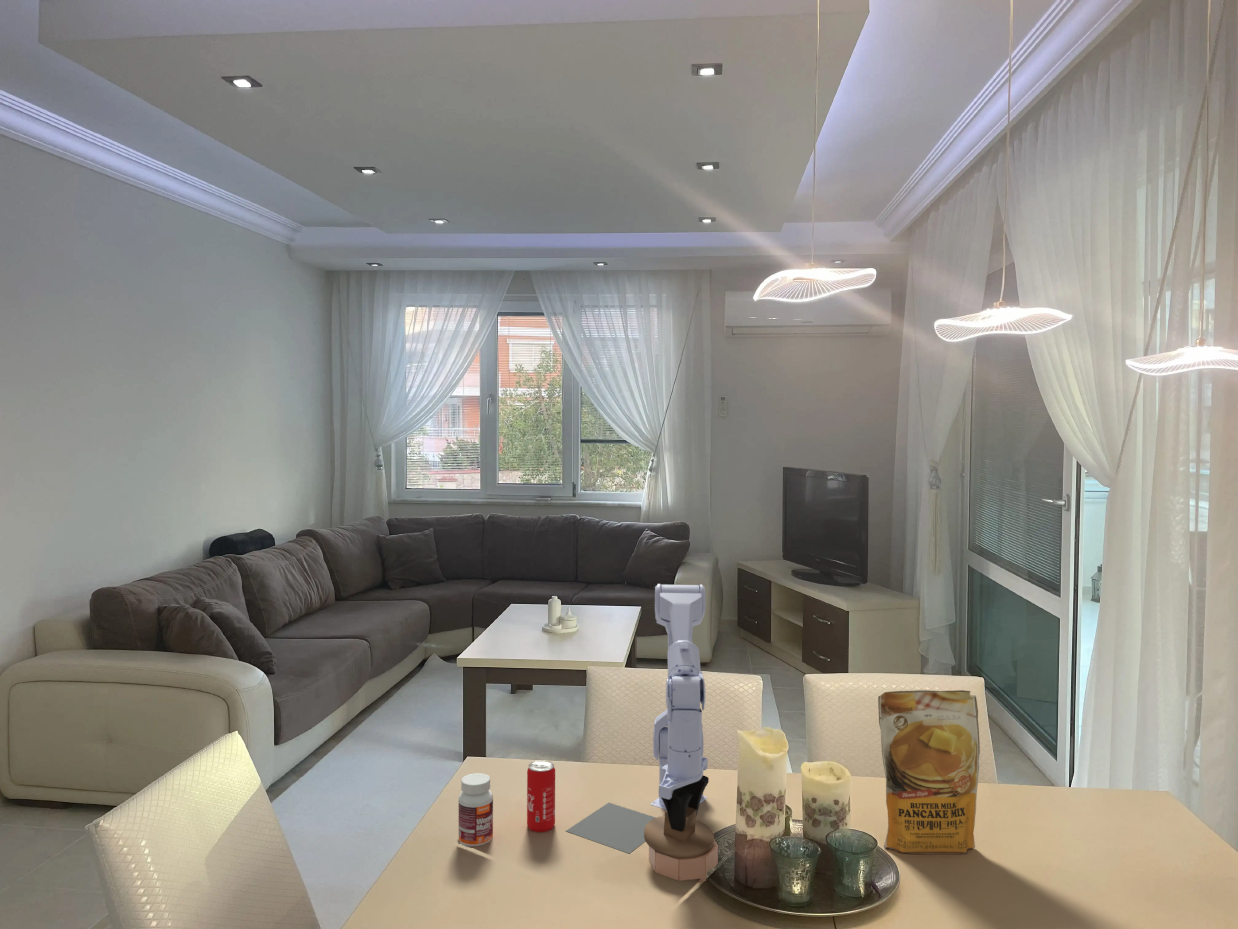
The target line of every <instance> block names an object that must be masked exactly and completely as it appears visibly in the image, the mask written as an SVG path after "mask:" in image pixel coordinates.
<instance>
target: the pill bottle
mask: <svg viewBox="0 0 1238 929" xmlns="http://www.w3.org/2000/svg"><path fill="white" fill-rule="evenodd" d="M460 783H461V785H460V787H461V788H460V789H461V792H460V794H459V795H458V841H459V843H460V845H462V846H464V847H466V848H471V849H472V848H474V847H475V846H482V845H486V844H488V843H489V842H490V841H491V840H493V838H494V837H493V836H494V794H493V793H492V791H491V790H490V789H491V777H490V776H489V775H488V774H486V773H481V772H477V773H476V772H474V773H470V774H466V775H465V776H463V777H462V778H461V782H460Z"/></svg>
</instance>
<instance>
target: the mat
mask: <svg viewBox="0 0 1238 929" xmlns="http://www.w3.org/2000/svg"><path fill="white" fill-rule="evenodd" d="M654 818H657V817H656V816H654V815H653V816H652V815H649V814H646V813H644V812H640V811H637V810H633V809H630V808H627V807H625V806H621V805H618V804H615V803H611V802H607V803H605V804H604V805H602V806H601V807H600V808H598V809H596V810H595V811H594V812H592V813H591V814H589V815H587V816H586V817H584V818H583V819H582V820H580V821H579V822H577V823H575V824H574V825H572V826H571V827H570V828H568V829H566V830H565V832H566V833H570V834H572V835H575V836H578V837H581V838H583V839H587V840H589V841H592V842H595V843H598V844H601V845H604V846H605V847H608V848H611V849H613V850H617V851H620V852H623V853H625V854H629V855H630V854H631V853H633V852H634V851H635V850H636V849H638V848H639V847H640V846H642V845H643V844H644V843H646V841H645V839H644V829H645V826H646V824H647V823H648V822H649V821H650V820H652V819H654Z"/></svg>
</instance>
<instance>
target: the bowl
mask: <svg viewBox="0 0 1238 929" xmlns="http://www.w3.org/2000/svg"><path fill="white" fill-rule="evenodd" d="M718 855H719V845H718V844H717V842H716V840H715V839H714V845H713V848H712V849H711V851H709V852H708V853H707V854H705V855H702V856H699V857H695V858H676V857H671V856H667V855H664V854H661V853H659V852H657V851H655V850H654V849H652V848H651V847H650V846H649V845H648V860H649V863H650V864H651V866H652V869H653V872H654V873H656V874H659V875H661V876H664V877H667V878H671V879H673V880H676V881H678V882H680V881H681V882H682V881H689V880H698V881H697V883H700V882H706V881H707V880H706V874H707V872H708V871H709V870H710V869H712V868H714V867H715V866H716V865H717V864H718V863H719V858H718V857H719V856H718Z"/></svg>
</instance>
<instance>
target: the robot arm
mask: <svg viewBox="0 0 1238 929" xmlns="http://www.w3.org/2000/svg"><path fill="white" fill-rule="evenodd" d="M706 595H707V594H706V587H705V586H704V585H703V584H702V583H701V584H699V585H698V584H661V583H657V585H655V587H654V615H655V620H656V624H658V625H661V626H663V627H664V628H665V631H666V633H667V656H666V657H667V678H666V682H665V705H666V709H665V710H664V711H663V712H661V713H660V714H659V715H658V716H656V717H655V718H654V719H655V720H654V721H653V734H652V737H653V738H652V743H653V745H652V748H653V749H652V753H653V754H652V755H653V757H654V758H655V760H656V761H657V760H658V761H659V762H658V763H659V764H658V765H659V769H658V770H659V772H658V773H659V774H658V775H659V778H658V779H659V780H658V781H659V782H658V798H656V799H655V800H654V801H652V802H651V803H650V805H651V806H653V807H656V808H660V809H663V810H665V811H666V810H667V813H668V817H669V822H670V826H671V829H673V830H677V831H680V832H682V831H683V830H684V826H685V821H686V812H687V808H688V807H690V808H693V809H696V810H697V811H696V817H697V814H698V811H699V807H700V804H702V803H703V801H705V800H707V799H708V797H707V796H706V795H704V792H705V789H706V787H707V786H708V784H709V782H710V781H709V777H708V776H706V775H704V771H706V770H707V769H708V768H709V767H708V763H709V762H708V761H709V760H708V757H705V756H704V731H703V711H704V710H705V706H706V683H705V679H704V675H703V671H701V669H702V668H701V659H700V649H699V647H698V646H697V645H696V644H695V643H693V630H694V627H695V626H699V625H701V624H702V621H703V620H704V616H705V613H706V606H707V605H706V604H707V601H706ZM700 705H701V706H700ZM701 708H702V709H701Z"/></svg>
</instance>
